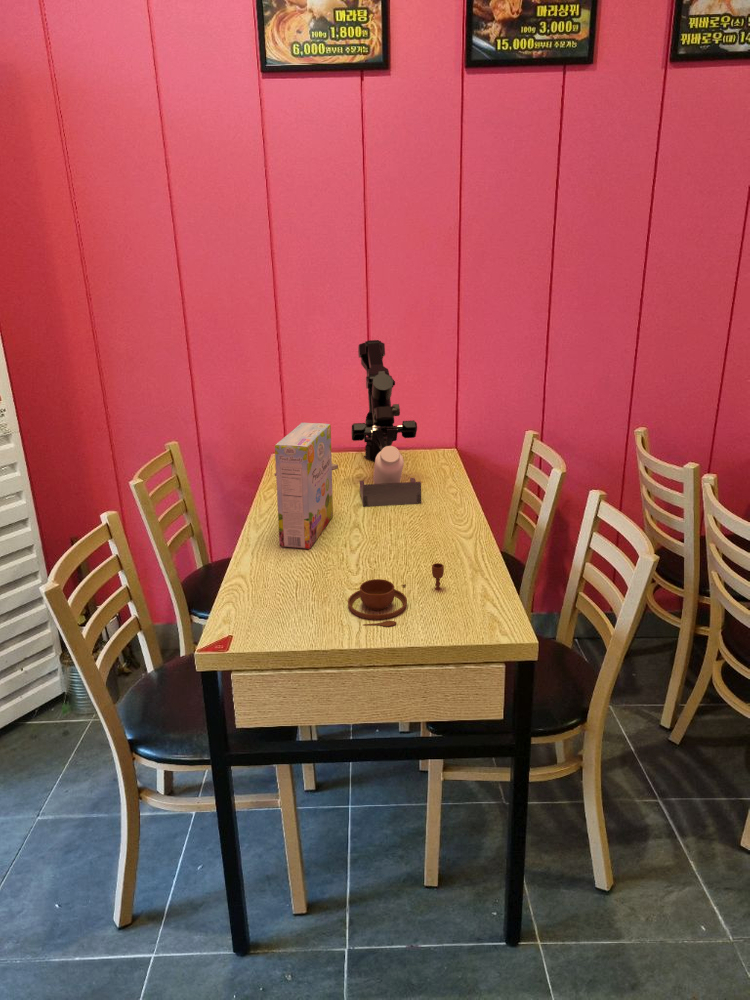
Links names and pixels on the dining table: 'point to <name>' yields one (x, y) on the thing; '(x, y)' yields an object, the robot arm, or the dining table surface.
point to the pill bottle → (388, 466)
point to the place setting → (385, 597)
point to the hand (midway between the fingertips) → (386, 456)
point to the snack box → (304, 484)
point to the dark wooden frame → (391, 493)
